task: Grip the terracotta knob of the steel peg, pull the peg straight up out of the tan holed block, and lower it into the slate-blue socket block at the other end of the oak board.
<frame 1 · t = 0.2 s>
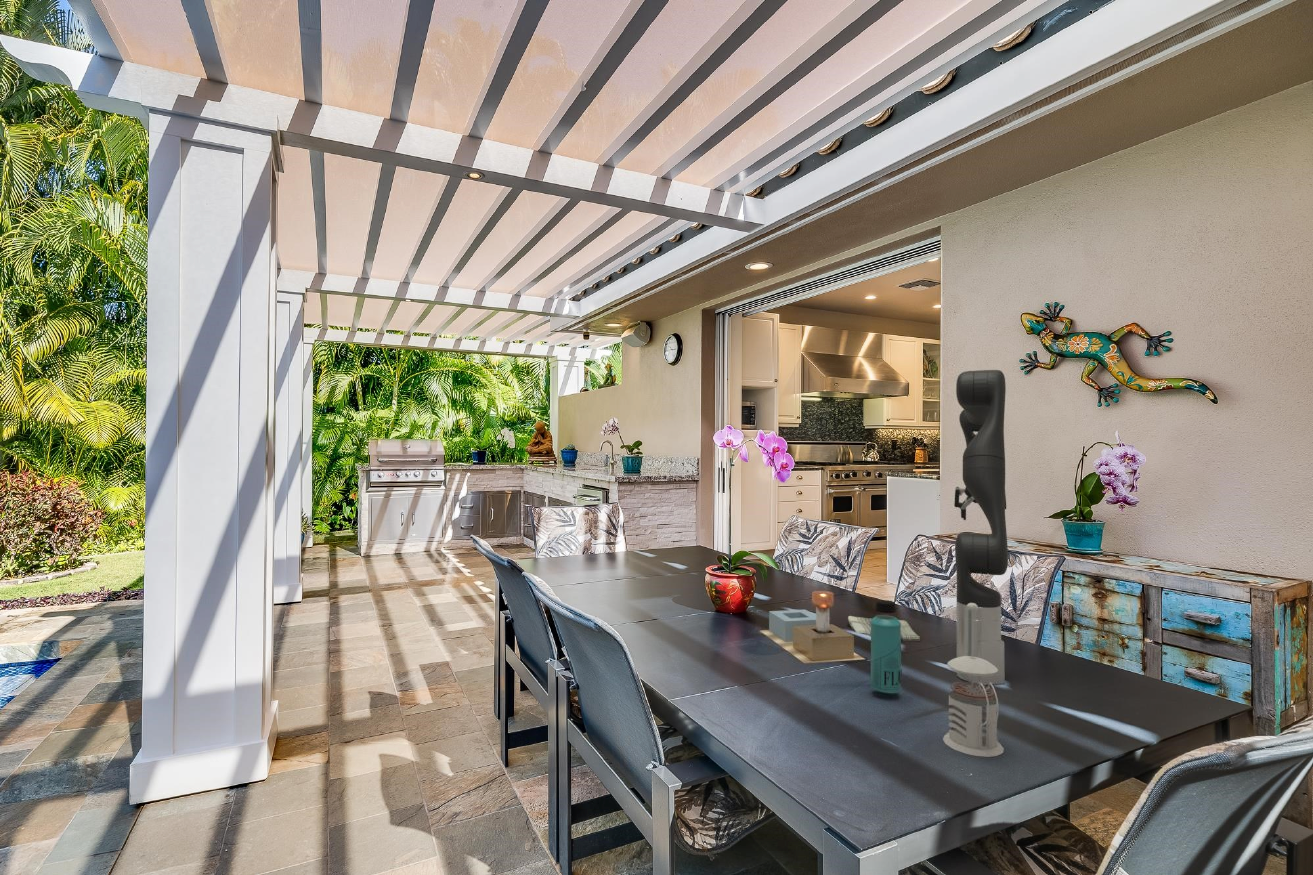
hand: (980, 519, 200), 31 cm above the table, tool tilted 20°, fingers open, 8 cm apart
beverage bottle: (885, 695, 138), on the table
oak board: (808, 649, 170), on the table
dish towel: (882, 633, 188), on the table
socket block: (795, 635, 178), resting on oak board
french press: (975, 747, 114), on the table
tan holed block: (822, 641, 162), on the oak board, point 4 cm above the table
steel peg: (822, 622, 162), in the tan holed block, point 9 cm above the table, touching oak board
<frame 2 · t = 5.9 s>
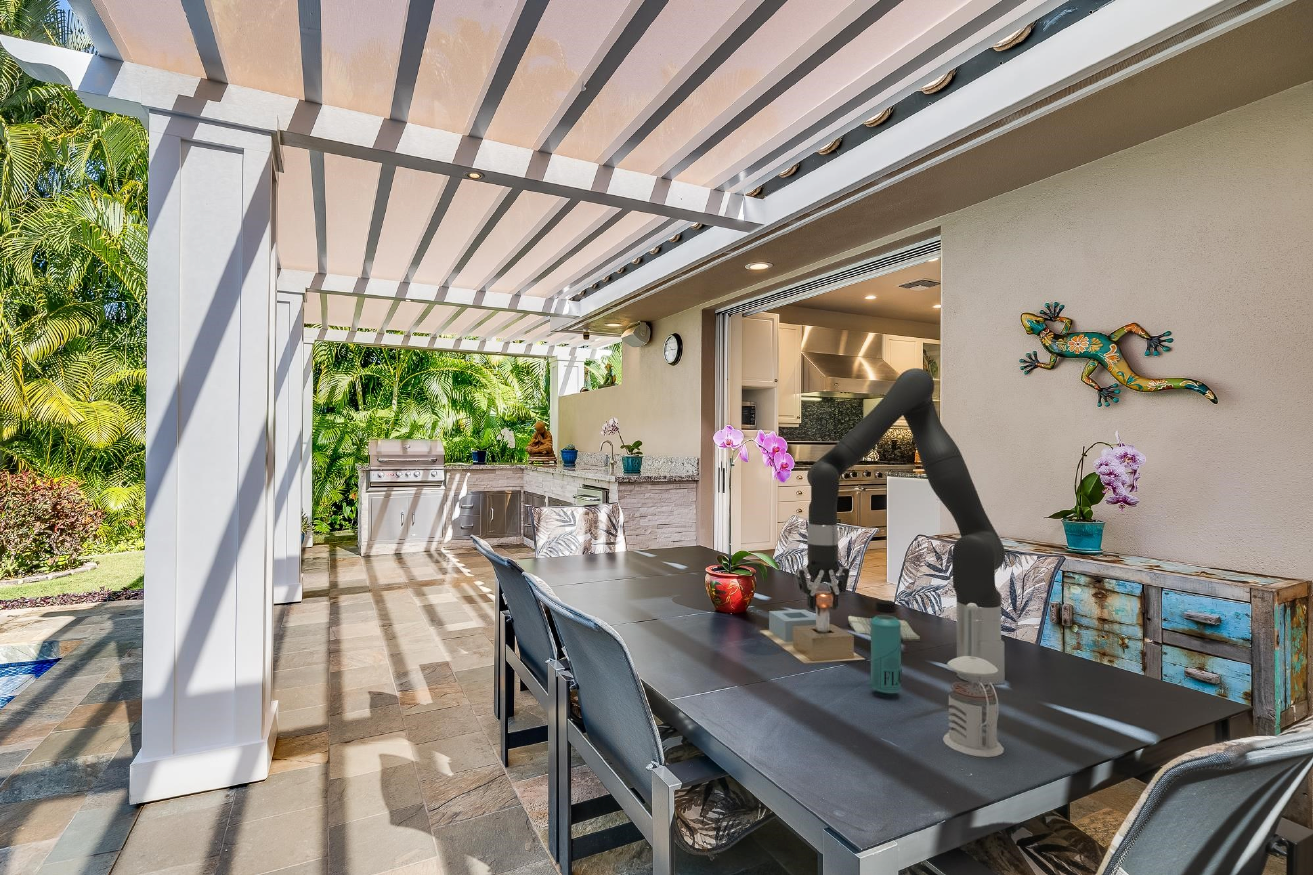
hand: (822, 609, 162), 12 cm above the table, tool pointing down, fingers closed on steel peg, 5 cm apart
steel peg: (822, 622, 162), in the tan holed block, point 9 cm above the table, touching gripper, oak board
everything else where it was.
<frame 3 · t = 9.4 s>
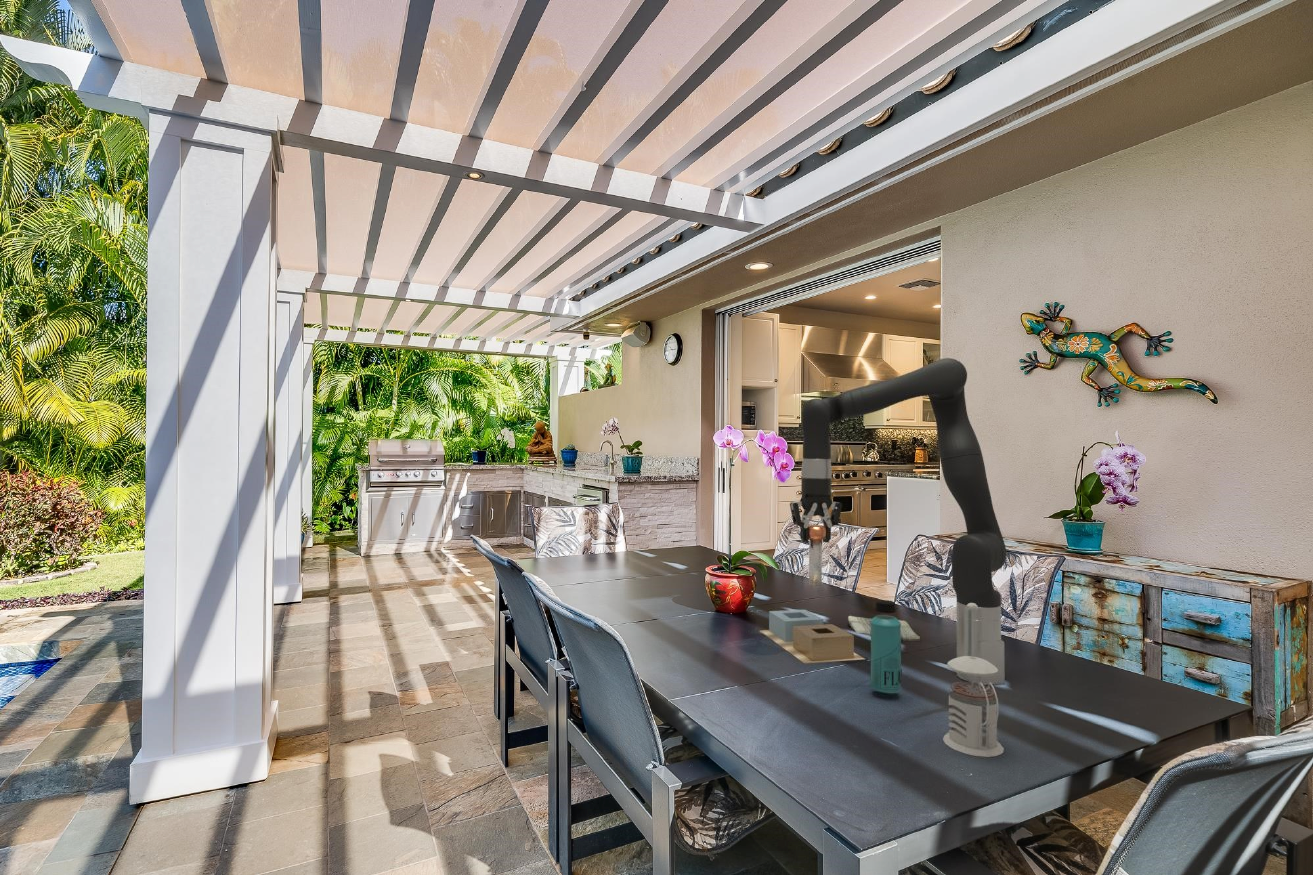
hand: (815, 541, 166), 29 cm above the table, tool pointing down, fingers closed on steel peg, 5 cm apart
steel peg: (815, 555, 166), point 25 cm above the table, touching gripper
everything else where it was.
when the fingers open (14 cm above the table, at t = 13.2 s): steel peg drops 1 cm, resting on oak board.
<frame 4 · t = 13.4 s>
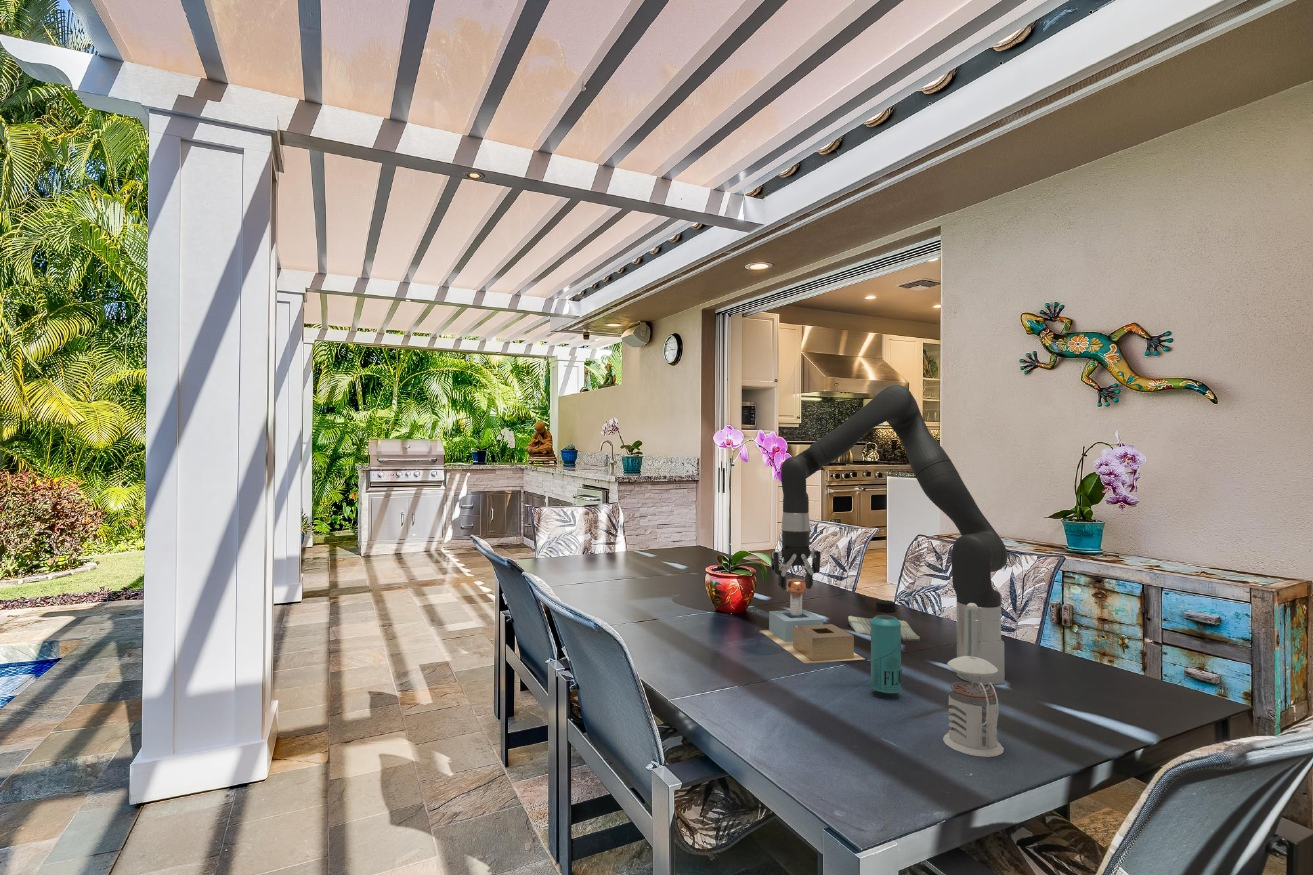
hand: (795, 588, 178), 14 cm above the table, tool pointing down, fingers open, 7 cm apart
steel peg: (796, 607, 178), in the socket block, point 9 cm above the table, touching oak board
everything else where it was.
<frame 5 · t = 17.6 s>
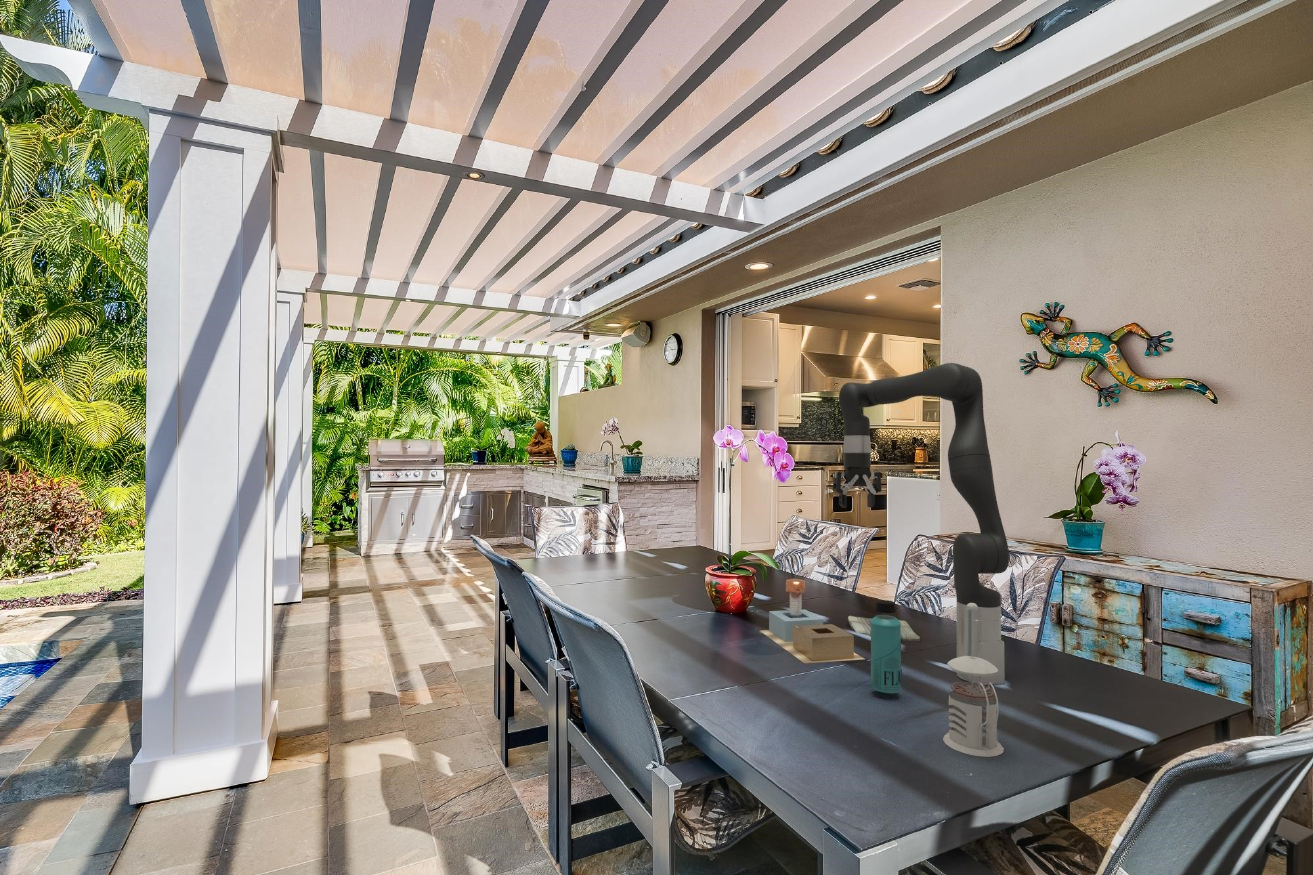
hand: (857, 507, 187), 36 cm above the table, tool pointing down, fingers open, 8 cm apart
nothing on the table moved.
at the end: steel peg 0.0 cm off-centre on the socket block, point 7.5 cm above the socket block's base; steel peg tilted 0°; the gripper is holding nothing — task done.
